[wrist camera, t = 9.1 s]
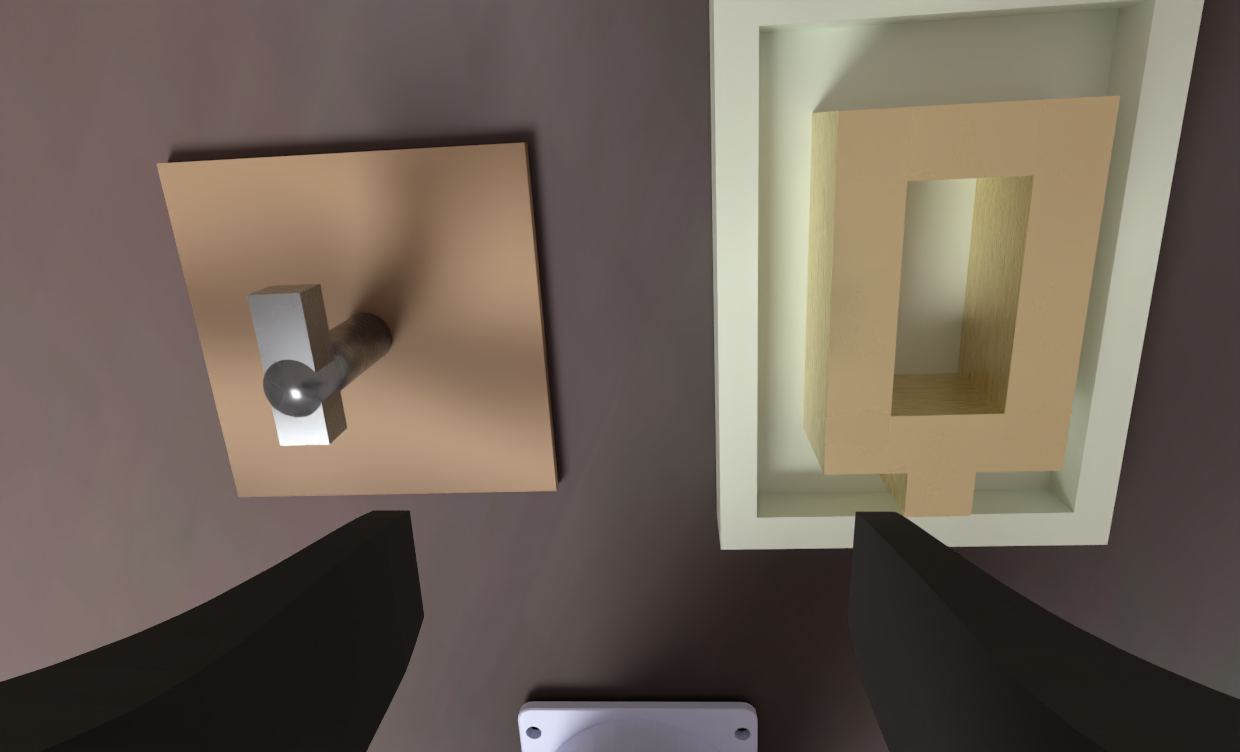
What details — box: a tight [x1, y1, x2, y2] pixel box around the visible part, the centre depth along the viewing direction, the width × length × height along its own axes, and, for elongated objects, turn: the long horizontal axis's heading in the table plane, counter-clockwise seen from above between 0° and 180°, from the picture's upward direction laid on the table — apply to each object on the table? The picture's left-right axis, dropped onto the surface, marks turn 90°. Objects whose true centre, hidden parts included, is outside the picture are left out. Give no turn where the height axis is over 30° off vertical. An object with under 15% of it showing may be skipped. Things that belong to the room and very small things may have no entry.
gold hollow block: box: [803, 95, 1120, 517], centre depth 18 cm, size 6×10×3 cm, turn 3°
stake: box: [247, 284, 392, 446], centre depth 19 cm, size 4×1×4 cm, turn 3°
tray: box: [709, 0, 1204, 550], centre depth 19 cm, size 14×10×2 cm
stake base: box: [157, 142, 558, 497], centre depth 21 cm, size 10×10×1 cm
